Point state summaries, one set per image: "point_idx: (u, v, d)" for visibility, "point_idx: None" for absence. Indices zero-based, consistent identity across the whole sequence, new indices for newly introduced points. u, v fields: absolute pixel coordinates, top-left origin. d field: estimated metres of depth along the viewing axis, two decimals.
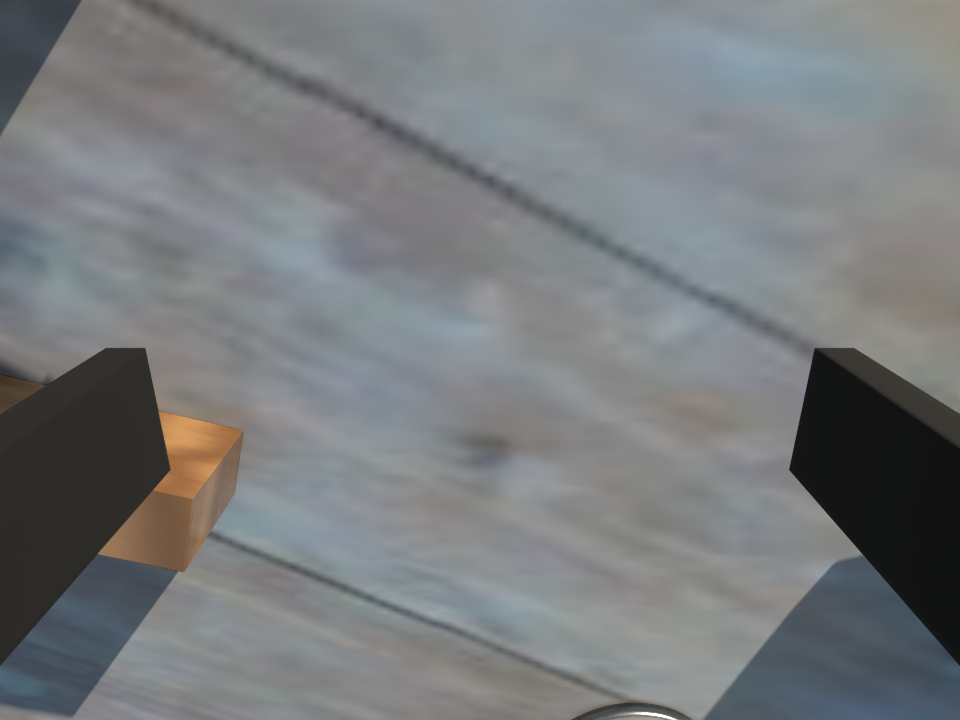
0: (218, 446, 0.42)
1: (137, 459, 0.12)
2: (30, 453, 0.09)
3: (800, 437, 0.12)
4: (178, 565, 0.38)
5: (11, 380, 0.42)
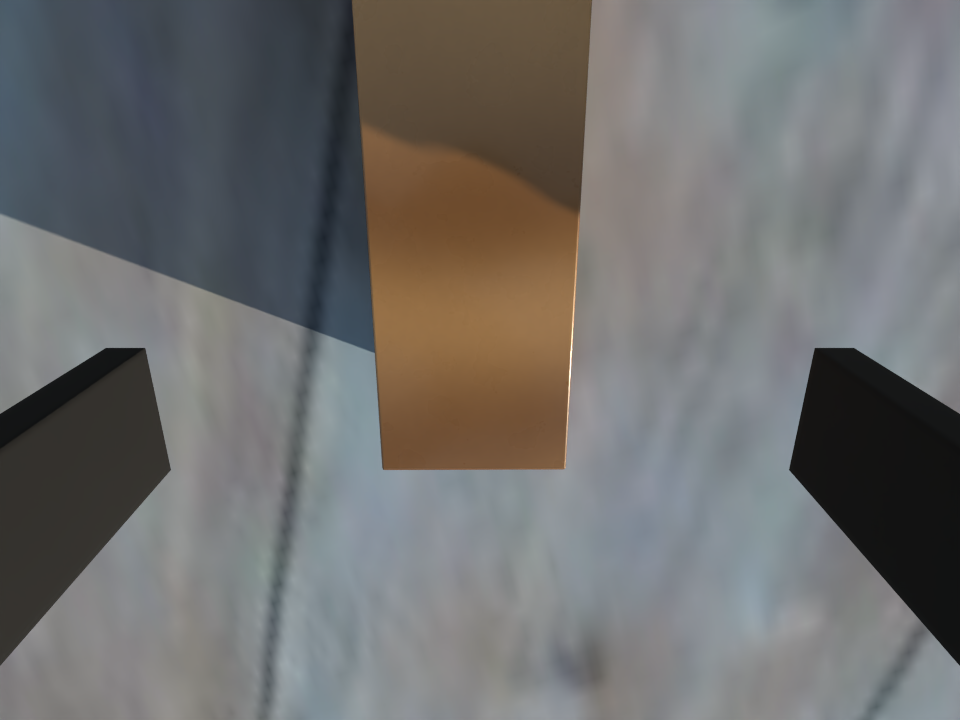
0: None
1: (137, 459, 0.12)
2: (30, 453, 0.09)
3: (800, 437, 0.12)
4: (396, 459, 0.19)
5: None
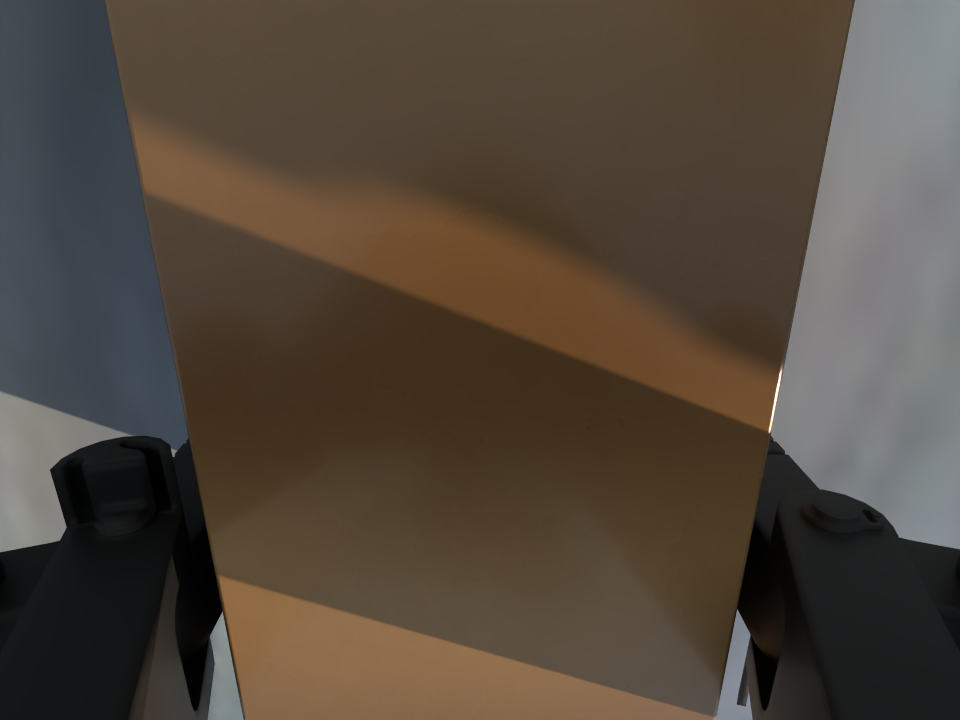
0: None
1: None
2: None
3: None
4: None
5: None
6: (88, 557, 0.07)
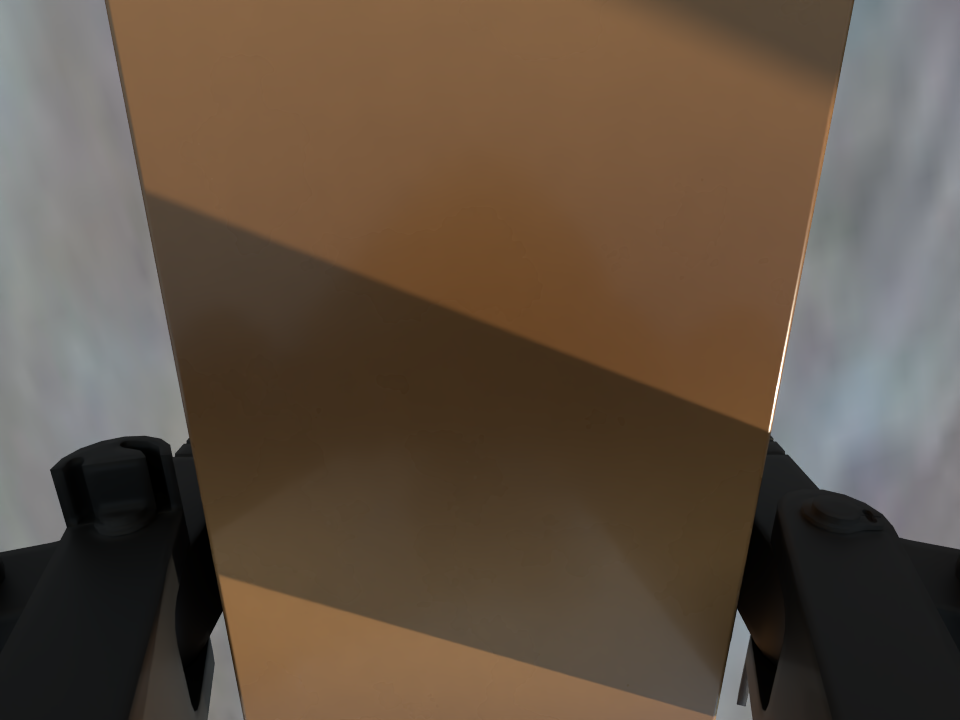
0: None
1: None
2: None
3: None
4: None
5: None
6: (88, 557, 0.07)
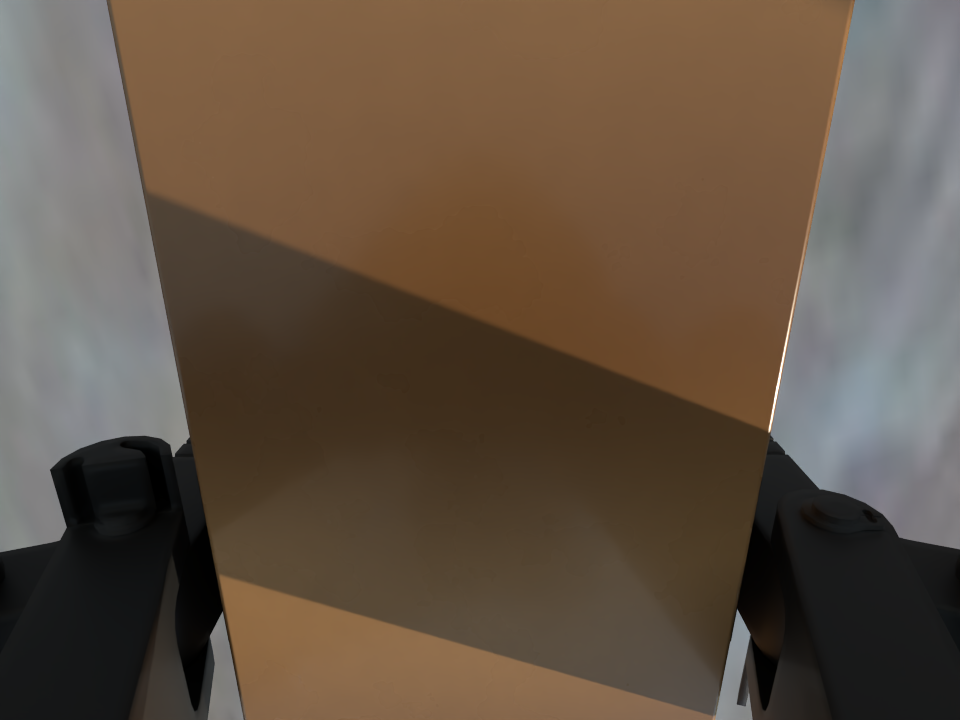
0: None
1: None
2: None
3: None
4: None
5: None
6: (88, 557, 0.07)
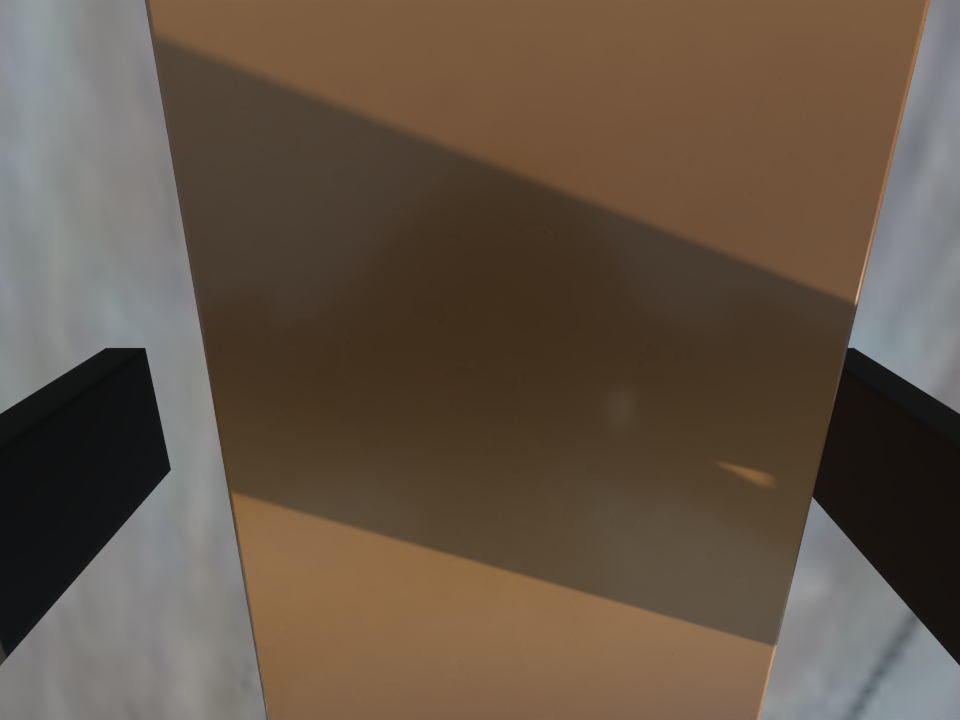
0: None
1: (137, 459, 0.12)
2: (30, 453, 0.09)
3: None
4: None
5: None
6: None
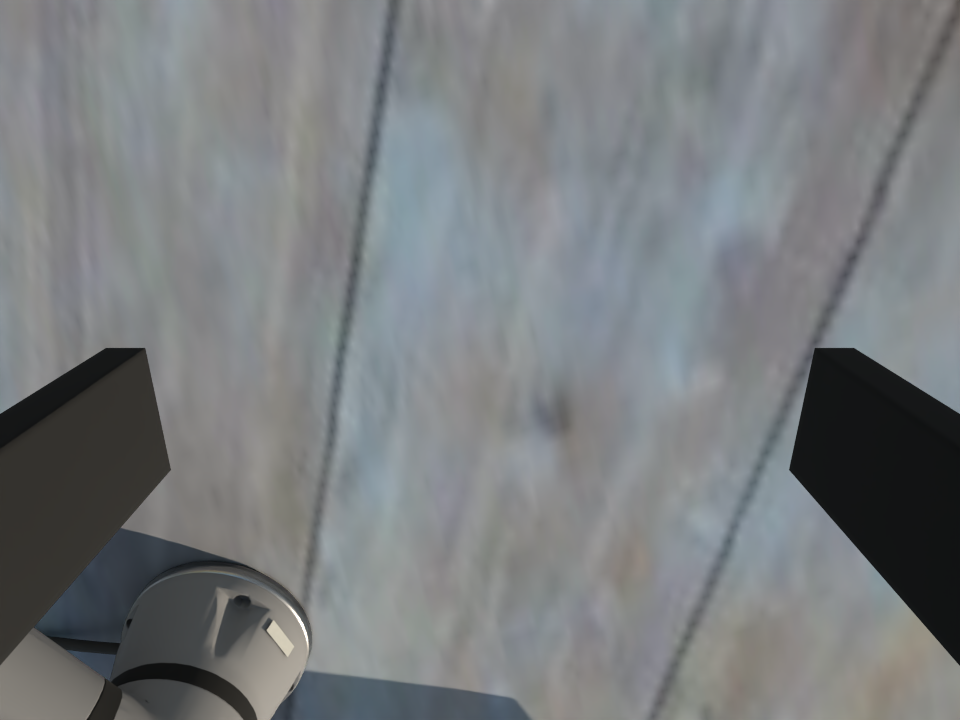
0: None
1: (137, 459, 0.12)
2: (30, 453, 0.09)
3: (800, 436, 0.12)
4: None
5: None
6: None
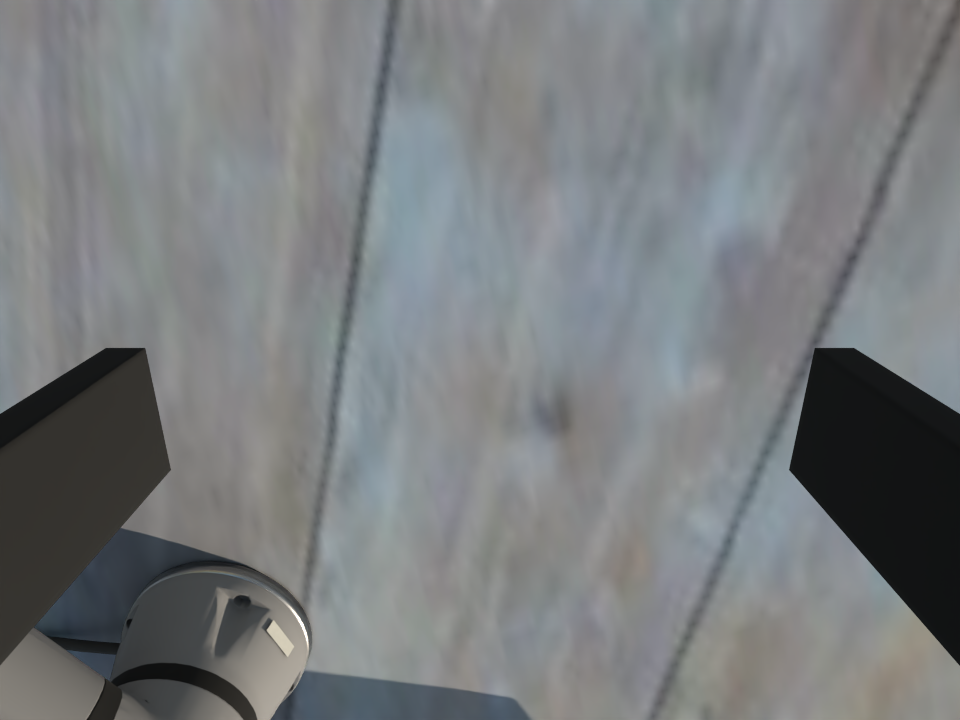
0: None
1: (137, 459, 0.12)
2: (30, 453, 0.09)
3: (800, 436, 0.12)
4: None
5: None
6: None
